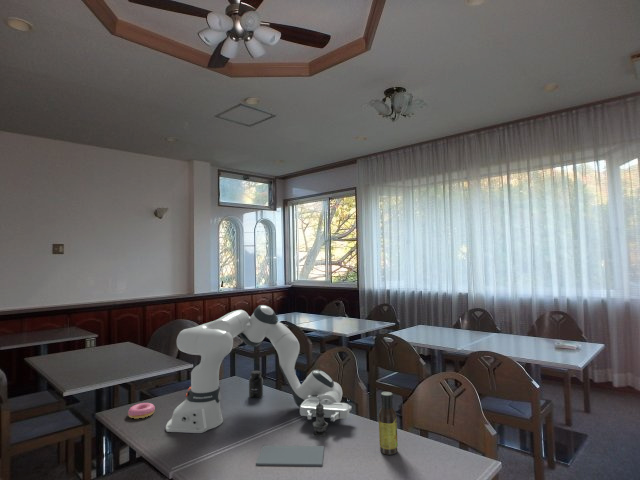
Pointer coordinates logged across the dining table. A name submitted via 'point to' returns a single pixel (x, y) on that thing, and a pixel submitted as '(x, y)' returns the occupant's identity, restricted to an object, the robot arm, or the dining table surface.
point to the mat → (291, 455)
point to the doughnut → (141, 410)
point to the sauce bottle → (387, 425)
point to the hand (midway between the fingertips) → (320, 418)
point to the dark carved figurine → (320, 421)
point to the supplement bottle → (255, 385)
